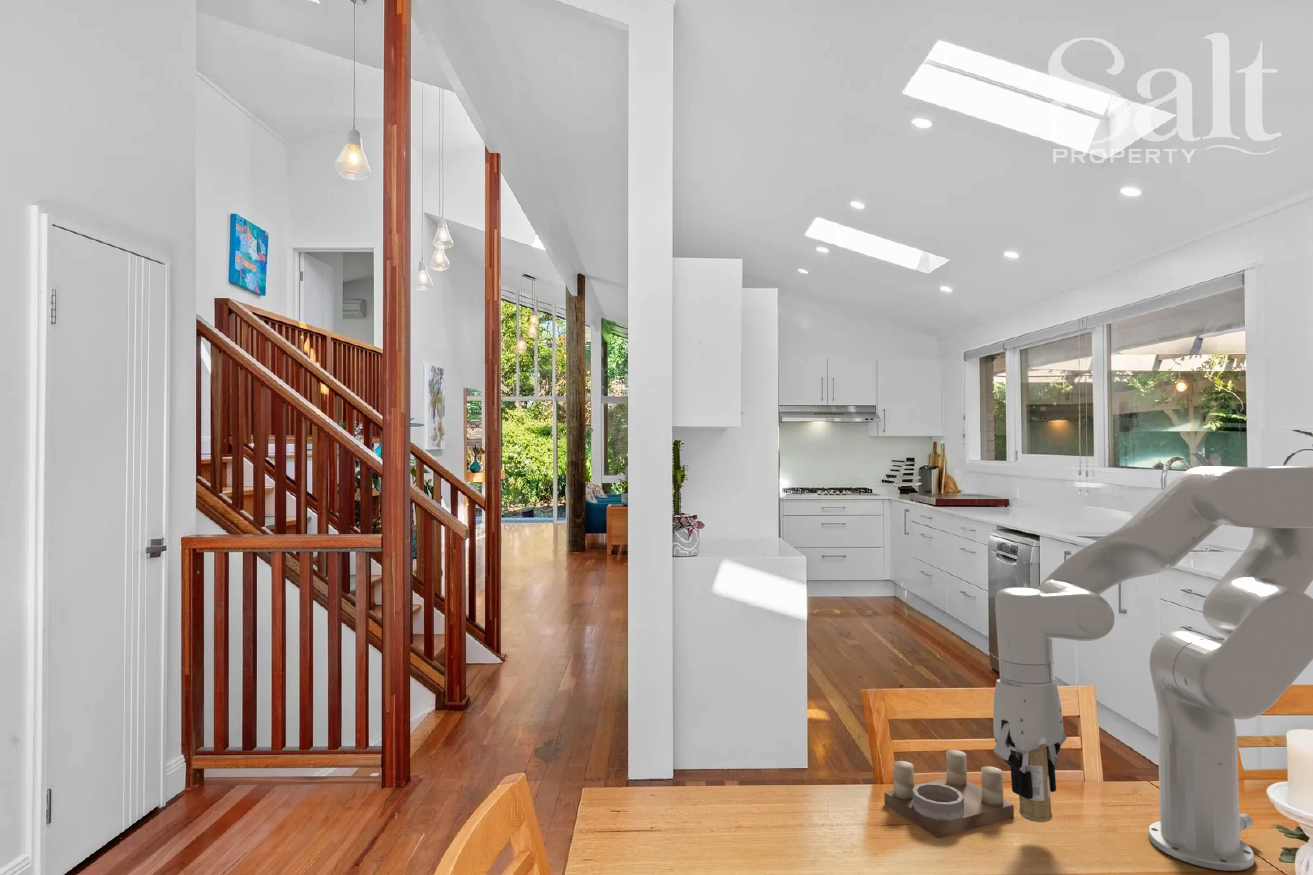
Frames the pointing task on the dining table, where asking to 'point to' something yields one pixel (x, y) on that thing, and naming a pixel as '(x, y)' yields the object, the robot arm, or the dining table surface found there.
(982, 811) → the bottle holder base
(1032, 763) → the sprinkles bottle
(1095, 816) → the dining table surface
